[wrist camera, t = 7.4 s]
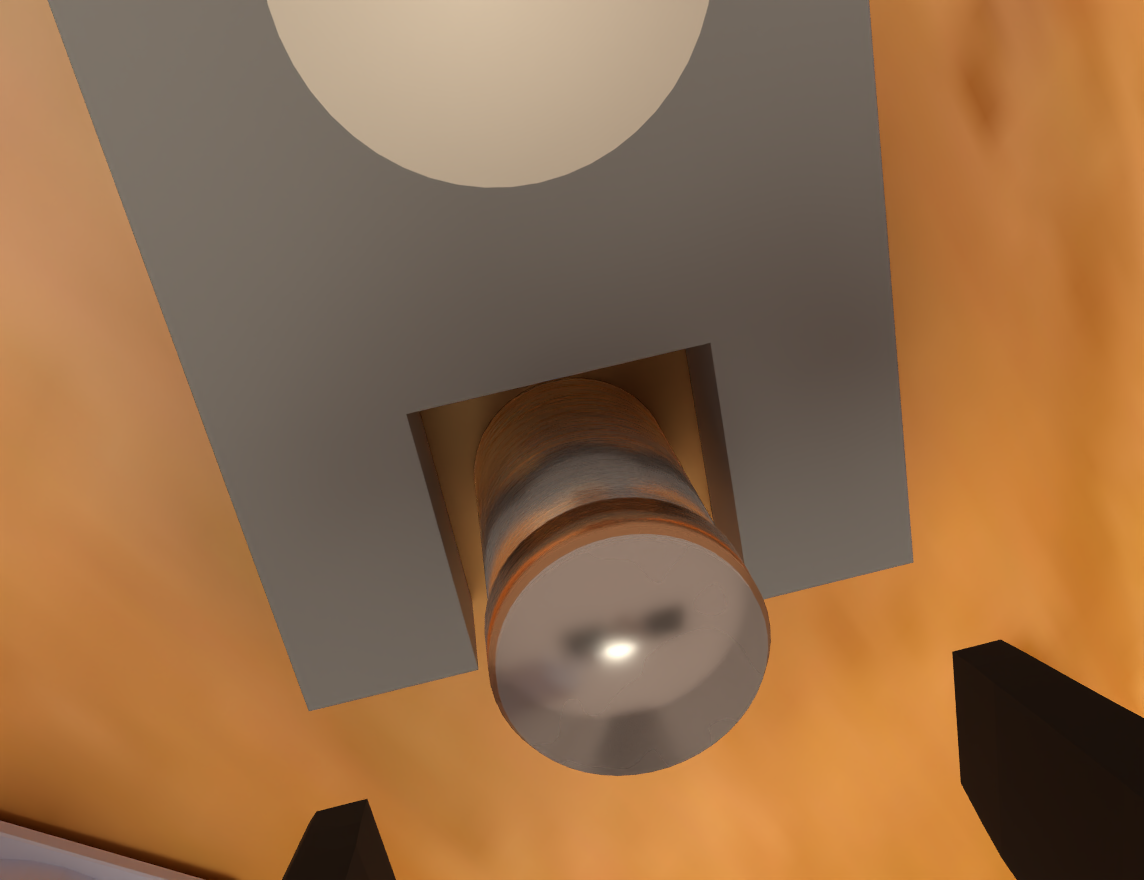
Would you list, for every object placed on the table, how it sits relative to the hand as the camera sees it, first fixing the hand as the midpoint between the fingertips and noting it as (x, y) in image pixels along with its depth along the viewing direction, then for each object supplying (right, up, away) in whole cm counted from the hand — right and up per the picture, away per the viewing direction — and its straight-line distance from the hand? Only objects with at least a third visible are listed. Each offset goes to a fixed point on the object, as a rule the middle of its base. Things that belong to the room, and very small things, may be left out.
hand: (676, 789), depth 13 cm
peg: (-1, +4, +9) cm, 10 cm away
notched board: (-2, +8, +7) cm, 11 cm away
